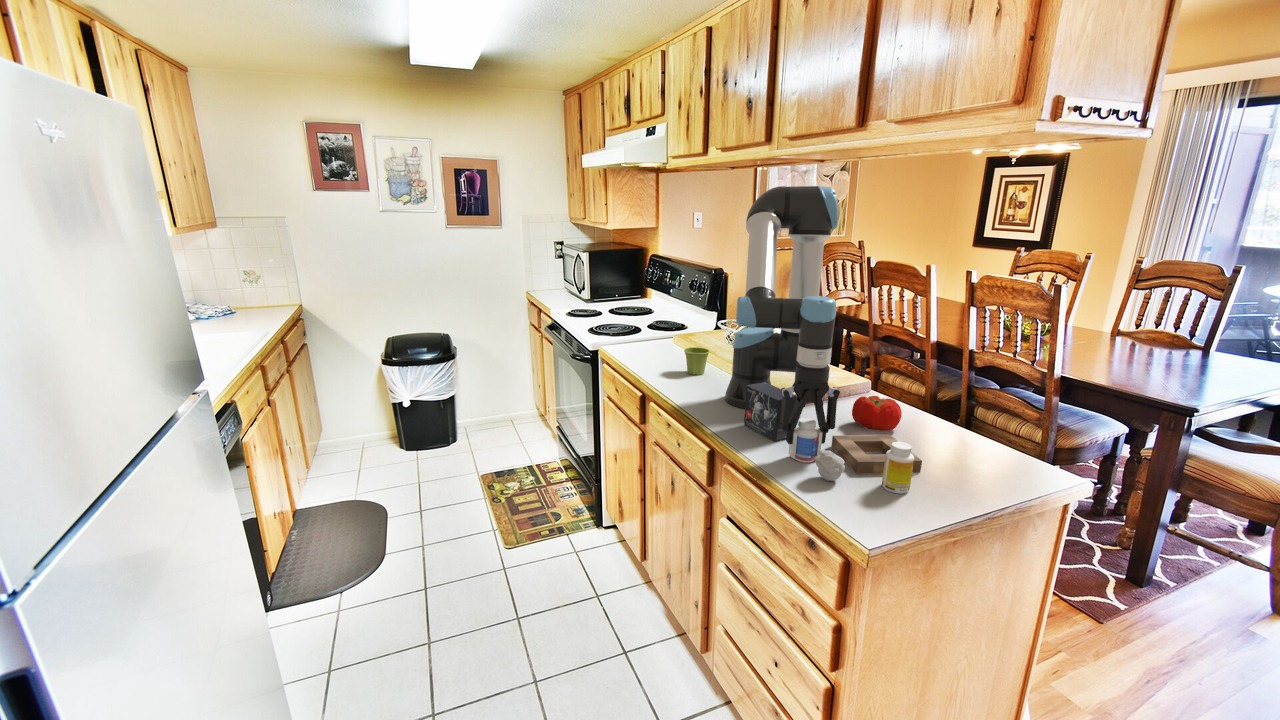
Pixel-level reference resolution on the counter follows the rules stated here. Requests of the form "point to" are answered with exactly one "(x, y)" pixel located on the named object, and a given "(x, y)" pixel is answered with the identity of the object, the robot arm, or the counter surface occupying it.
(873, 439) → the walnut holder block
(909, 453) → the supplement bottle
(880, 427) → the tomato
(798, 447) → the pill bottle
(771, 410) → the small box
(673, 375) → the counter surface
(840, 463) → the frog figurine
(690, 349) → the plant pot
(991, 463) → the counter surface
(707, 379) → the counter surface
